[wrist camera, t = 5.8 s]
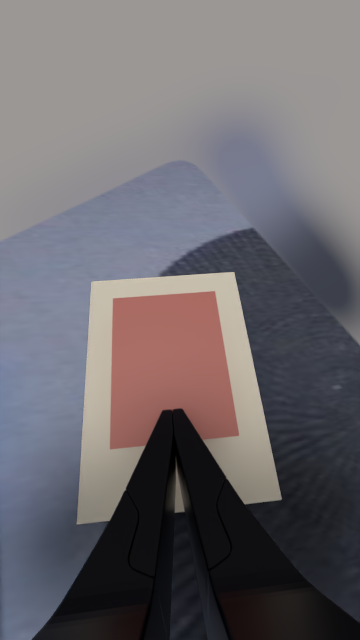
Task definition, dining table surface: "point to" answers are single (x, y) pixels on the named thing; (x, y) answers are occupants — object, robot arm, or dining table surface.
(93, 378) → the mat
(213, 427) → the card box
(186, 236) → the dining table surface
